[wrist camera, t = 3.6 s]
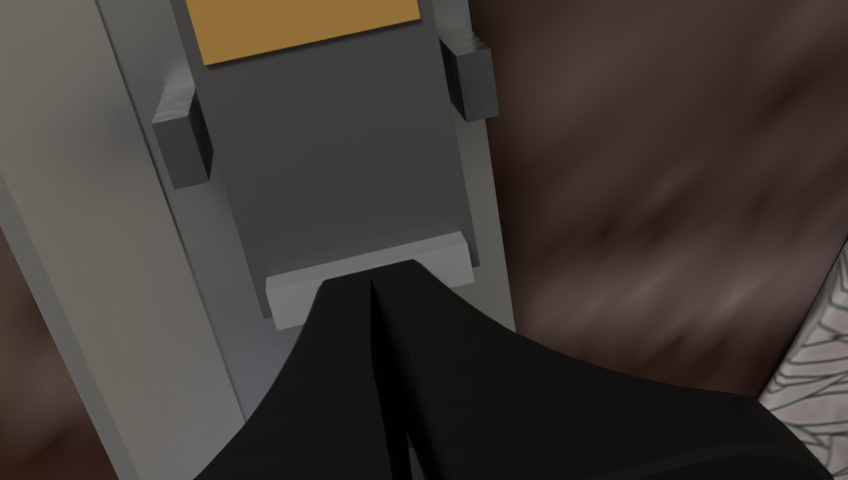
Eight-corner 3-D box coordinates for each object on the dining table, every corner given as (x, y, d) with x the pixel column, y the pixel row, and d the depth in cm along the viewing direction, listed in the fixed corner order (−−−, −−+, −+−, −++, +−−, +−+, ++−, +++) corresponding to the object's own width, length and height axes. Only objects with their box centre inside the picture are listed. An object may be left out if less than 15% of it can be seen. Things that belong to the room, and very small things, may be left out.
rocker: (460, 229, 13) (492, 277, 11) (263, 275, 13) (258, 335, 11) (399, -93, 12) (423, -104, 10) (170, -46, 11) (144, -47, 9)
